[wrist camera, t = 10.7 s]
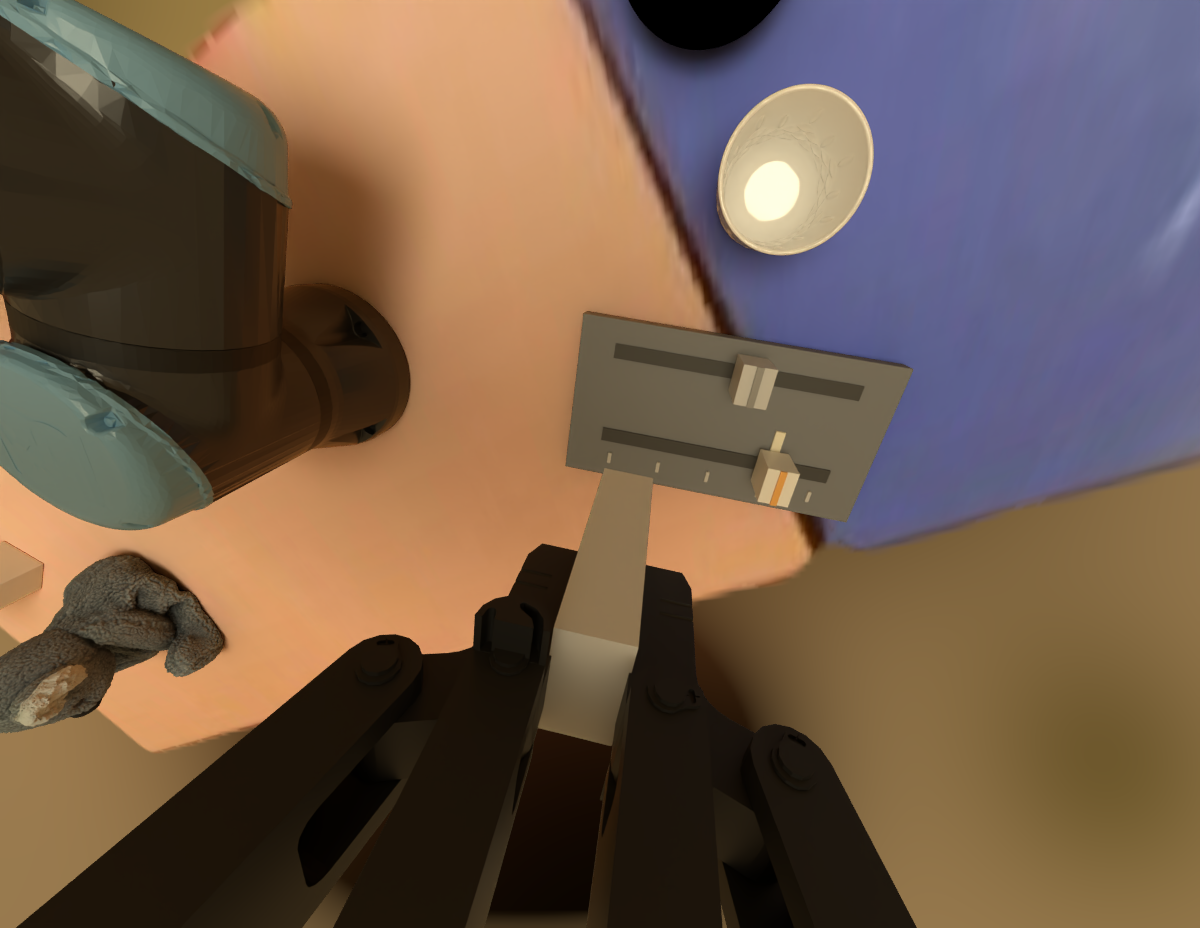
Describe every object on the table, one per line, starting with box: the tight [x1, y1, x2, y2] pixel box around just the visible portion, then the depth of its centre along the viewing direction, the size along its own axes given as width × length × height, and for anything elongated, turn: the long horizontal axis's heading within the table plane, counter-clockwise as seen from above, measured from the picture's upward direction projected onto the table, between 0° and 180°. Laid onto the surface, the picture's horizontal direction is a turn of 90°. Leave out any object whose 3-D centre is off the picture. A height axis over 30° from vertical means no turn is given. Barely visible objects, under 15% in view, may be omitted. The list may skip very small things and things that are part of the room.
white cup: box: [716, 84, 874, 255], centre depth 29 cm, size 8×8×10 cm
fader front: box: [728, 354, 778, 410], centre depth 35 cm, size 2×3×4 cm
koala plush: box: [0, 555, 223, 733], centre depth 56 cm, size 17×18×20 cm
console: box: [566, 311, 913, 522], centre depth 40 cm, size 26×14×2 cm, turn 81°
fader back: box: [751, 449, 800, 508], centre depth 38 cm, size 2×3×4 cm
